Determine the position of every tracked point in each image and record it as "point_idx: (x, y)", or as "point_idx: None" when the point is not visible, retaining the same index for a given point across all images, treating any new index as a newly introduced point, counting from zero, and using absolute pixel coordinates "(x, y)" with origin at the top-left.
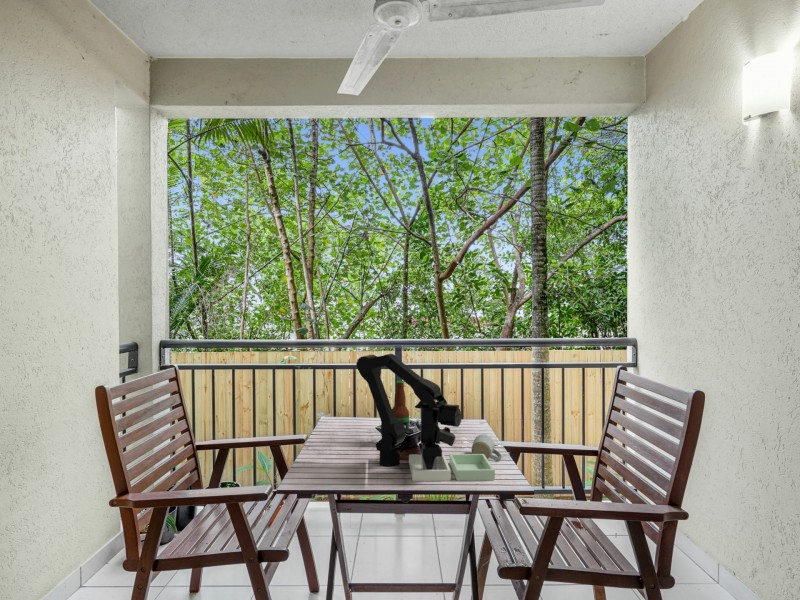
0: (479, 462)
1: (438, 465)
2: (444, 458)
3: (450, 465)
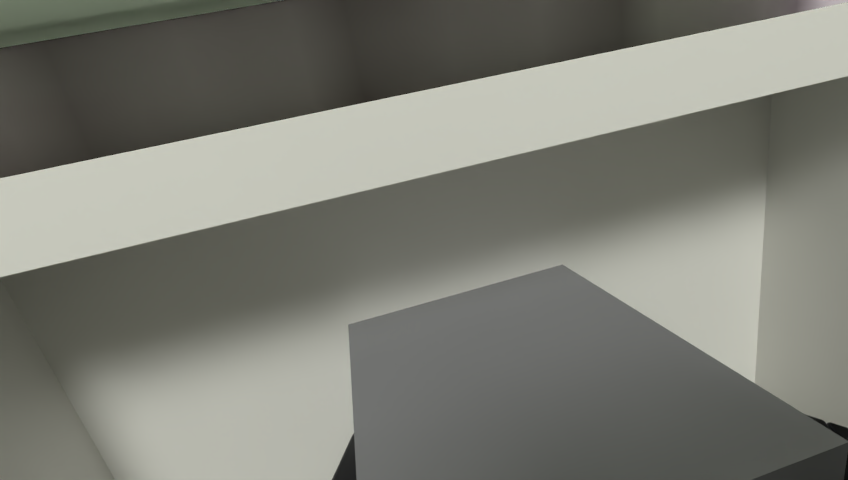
0: None
1: (105, 297)
2: (120, 198)
3: (9, 24)
